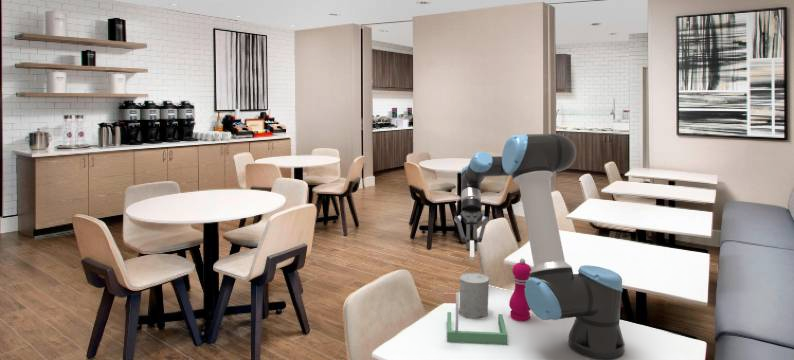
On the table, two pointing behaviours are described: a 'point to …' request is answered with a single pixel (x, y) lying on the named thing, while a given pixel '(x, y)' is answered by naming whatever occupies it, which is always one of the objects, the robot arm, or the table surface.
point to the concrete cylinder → (474, 295)
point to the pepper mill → (520, 292)
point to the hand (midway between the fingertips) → (471, 258)
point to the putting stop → (471, 335)
